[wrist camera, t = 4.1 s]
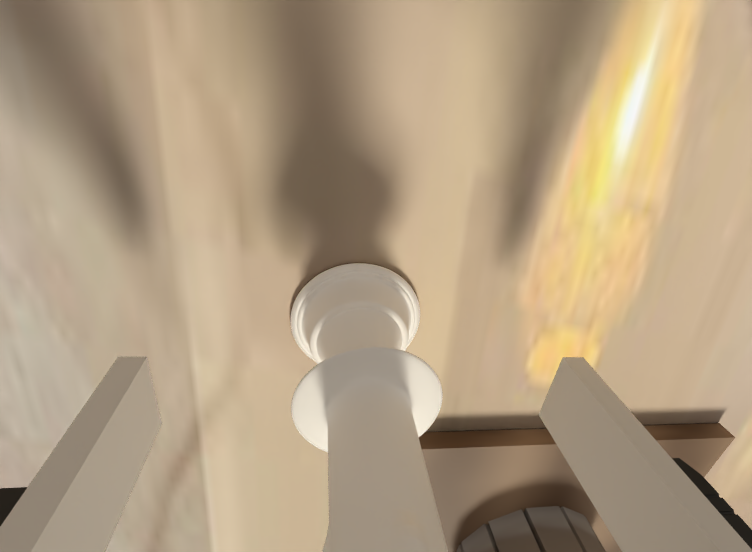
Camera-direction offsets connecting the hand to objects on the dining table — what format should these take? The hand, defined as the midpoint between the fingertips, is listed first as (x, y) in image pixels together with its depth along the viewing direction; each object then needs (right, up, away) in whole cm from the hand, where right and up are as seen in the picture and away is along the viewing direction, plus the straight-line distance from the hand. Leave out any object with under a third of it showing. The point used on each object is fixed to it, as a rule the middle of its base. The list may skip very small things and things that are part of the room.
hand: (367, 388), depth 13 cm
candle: (-1, +2, +4) cm, 4 cm away
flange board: (+10, -13, +13) cm, 21 cm away
